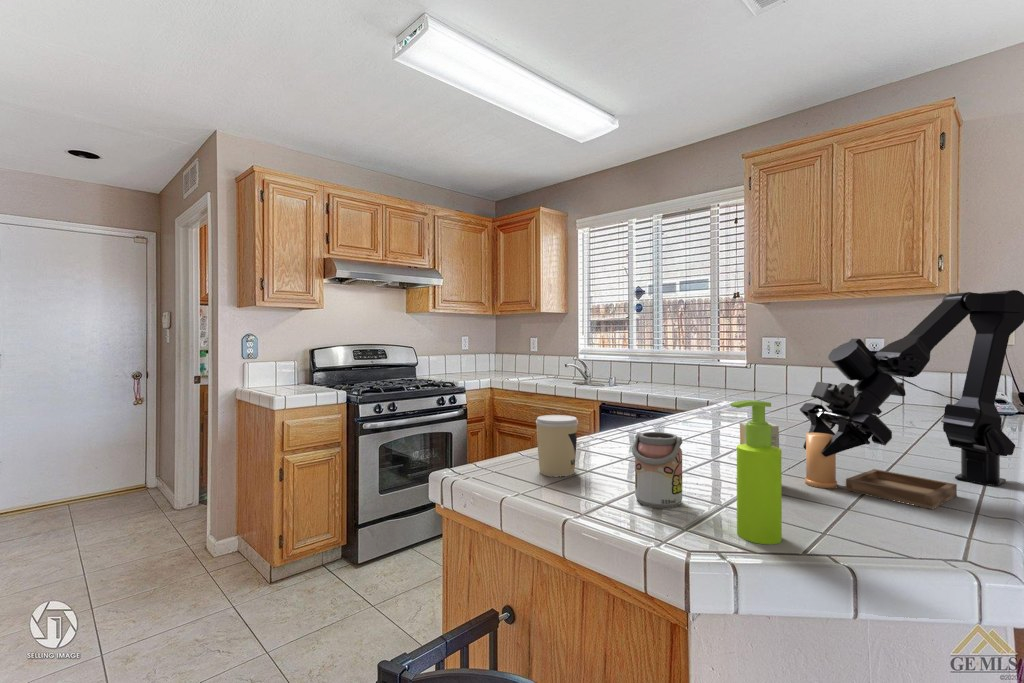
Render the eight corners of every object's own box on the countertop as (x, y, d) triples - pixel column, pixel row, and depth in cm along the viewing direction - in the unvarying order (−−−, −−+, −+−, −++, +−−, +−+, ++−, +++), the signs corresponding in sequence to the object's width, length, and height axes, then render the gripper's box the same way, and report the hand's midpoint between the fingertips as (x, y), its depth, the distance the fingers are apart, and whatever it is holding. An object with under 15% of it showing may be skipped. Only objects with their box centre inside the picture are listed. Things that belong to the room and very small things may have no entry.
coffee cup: (580, 478, 102) (580, 421, 102) (536, 478, 102) (536, 421, 102) (575, 466, 112) (575, 414, 112) (535, 466, 112) (534, 414, 112)
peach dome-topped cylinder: (813, 479, 101) (812, 431, 101) (841, 485, 96) (841, 435, 96) (799, 483, 98) (799, 434, 98) (829, 490, 93) (829, 438, 93)
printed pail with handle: (674, 515, 80) (674, 442, 80) (625, 506, 85) (625, 437, 85) (688, 499, 88) (687, 433, 88) (642, 492, 93) (642, 429, 93)
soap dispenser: (722, 529, 74) (722, 399, 74) (765, 528, 75) (765, 398, 75) (744, 545, 68) (743, 403, 68) (790, 543, 69) (790, 403, 69)
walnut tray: (874, 479, 101) (874, 469, 101) (956, 496, 90) (956, 484, 90) (846, 490, 93) (846, 478, 93) (932, 509, 83) (932, 496, 83)
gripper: (808, 366, 107) (759, 416, 106) (876, 371, 88) (819, 432, 87) (842, 401, 107) (794, 452, 107) (917, 413, 89) (860, 475, 88)
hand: (814, 451), depth 97 cm, fingers closed on peach dome-topped cylinder, 5 cm apart
